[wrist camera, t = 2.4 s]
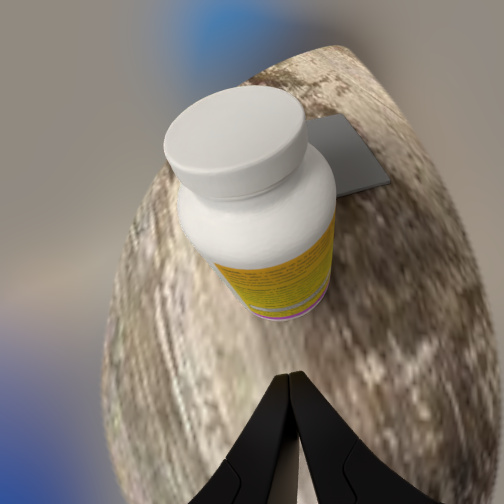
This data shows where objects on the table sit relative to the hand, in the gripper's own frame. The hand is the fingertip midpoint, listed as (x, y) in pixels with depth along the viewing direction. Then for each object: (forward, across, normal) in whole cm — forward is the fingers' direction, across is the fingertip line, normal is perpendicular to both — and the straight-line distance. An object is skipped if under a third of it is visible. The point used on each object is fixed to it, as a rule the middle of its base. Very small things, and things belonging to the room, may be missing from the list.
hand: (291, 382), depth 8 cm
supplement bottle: (+12, 0, +1) cm, 12 cm away
